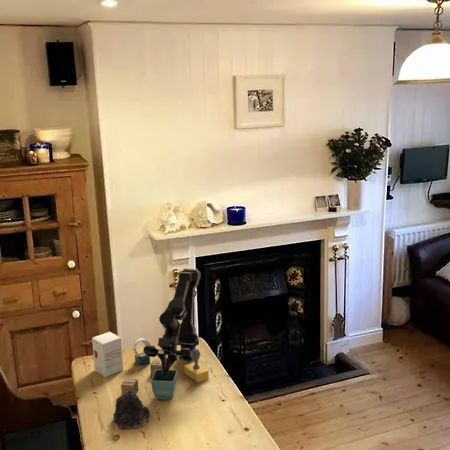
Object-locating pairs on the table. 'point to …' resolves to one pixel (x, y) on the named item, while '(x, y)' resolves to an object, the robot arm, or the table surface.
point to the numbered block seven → (155, 366)
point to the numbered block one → (129, 386)
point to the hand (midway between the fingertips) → (164, 374)
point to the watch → (141, 357)
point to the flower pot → (164, 384)
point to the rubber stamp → (196, 368)
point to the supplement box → (107, 354)
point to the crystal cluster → (130, 412)
